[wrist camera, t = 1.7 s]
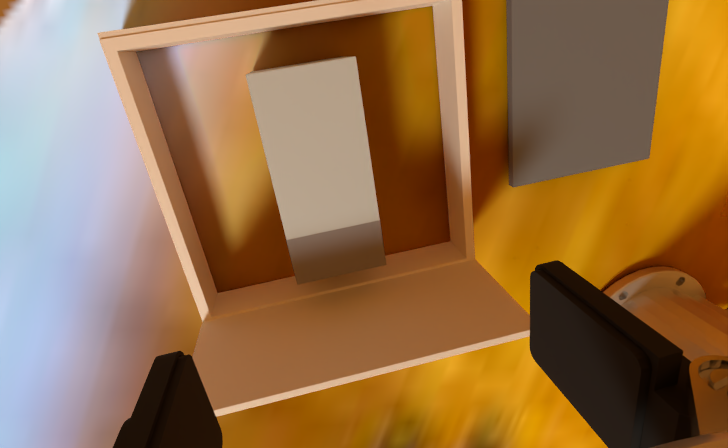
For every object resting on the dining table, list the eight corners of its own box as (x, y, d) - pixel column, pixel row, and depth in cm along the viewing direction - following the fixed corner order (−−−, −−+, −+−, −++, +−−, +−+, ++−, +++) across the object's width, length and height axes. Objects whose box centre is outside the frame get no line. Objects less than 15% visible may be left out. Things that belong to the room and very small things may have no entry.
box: (342, 56, 26) (356, 56, 21) (370, 233, 30) (386, 264, 26) (251, 71, 25) (245, 74, 20) (294, 249, 30) (297, 285, 25)
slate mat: (674, -116, 25) (683, -120, 25) (642, 156, 32) (649, 158, 31) (505, -94, 24) (510, -98, 24) (508, 184, 31) (513, 187, 30)
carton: (440, -13, 25) (549, -60, 15) (458, 246, 32) (540, 333, 22) (118, 36, 23) (-8, 19, 13) (211, 302, 30) (176, 426, 20)
